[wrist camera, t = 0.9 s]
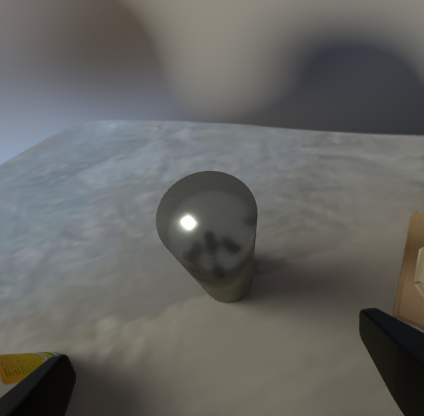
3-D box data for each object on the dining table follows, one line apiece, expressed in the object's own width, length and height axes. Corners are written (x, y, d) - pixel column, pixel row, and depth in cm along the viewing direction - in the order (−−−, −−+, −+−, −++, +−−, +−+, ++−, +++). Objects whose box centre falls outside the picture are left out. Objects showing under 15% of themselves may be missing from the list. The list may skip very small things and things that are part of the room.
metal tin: (261, 289, 21) (277, 234, 10) (213, 311, 20) (174, 282, 9) (238, 244, 23) (230, 157, 12) (195, 263, 22) (144, 193, 11)
